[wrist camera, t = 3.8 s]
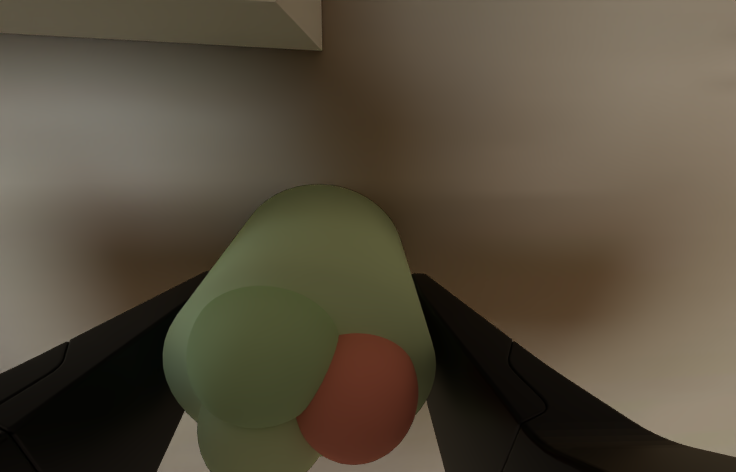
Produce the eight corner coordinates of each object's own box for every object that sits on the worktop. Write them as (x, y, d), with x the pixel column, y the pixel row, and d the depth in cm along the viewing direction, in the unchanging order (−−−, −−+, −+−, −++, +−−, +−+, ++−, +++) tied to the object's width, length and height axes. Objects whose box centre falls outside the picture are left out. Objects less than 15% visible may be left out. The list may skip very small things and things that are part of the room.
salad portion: (395, 325, 11) (433, 530, 6) (249, 325, 11) (159, 540, 6) (411, 187, 9) (490, 327, 4) (227, 181, 9) (47, 326, 4)
